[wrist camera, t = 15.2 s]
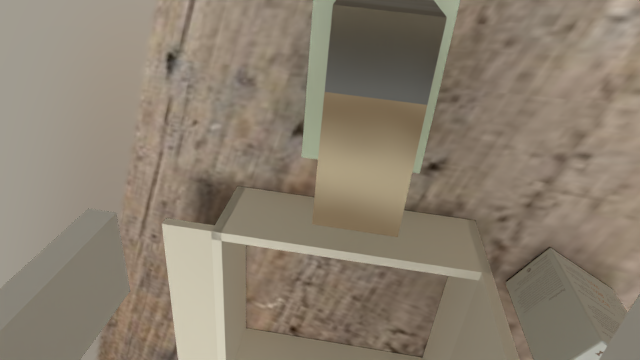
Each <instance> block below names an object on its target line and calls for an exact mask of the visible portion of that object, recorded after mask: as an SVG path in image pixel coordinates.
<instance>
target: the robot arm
mask: <svg viewBox="0 0 640 360" xmlns="http://www.w3.org/2000/svg"><path fill="white" fill-rule="evenodd" d="M129 292H130V287H129V281H128V275H127V270H126V264H125V258H124V253H123V247H122V242H121V236H120V230H119V225H118V219H117V214H116V213H115V212H109V211H102V210H95V209H87V210H86V211H85V212H84V213H83V214H82V215H81V216H79V218H77V219H76V220H75V221H74V222H73V223H72V224H71V225H70V226H69V227H67V228H66V229H65V230H64V231H63V232H62V233H61V234H60V235H59V236H57V237H56V238H55V239H54V240H53V241H52V242H51V243H50V244H49V245H47V246H46V247H45V248H44V249H43V250H42V251H41V252H40V253H39V254H38V255H37V256H35V257H34V258H33V259H32V260H31V261H30V262H29V263H28V264H27V265H25V266H24V267H23V268H22V269H21V270H20V271H19V272H18V273H17V274H16V275H14V276H13V277H12V278H11V279H10V280H9V281H8V282H7V283H6V284H5V285H4V286H2V287H1V288H0V360H81V358H82V356H83V355H84V354H85V353H86V351H87V350H88V348H89V347H90V346H91V344H92V343H93V341H94V340H95V339H96V337H97V336H98V335H99V333H100V332H101V330H102V329H103V328H104V326H105V325H106V324H107V322H108V321H109V319H110V318H111V317H112V315H113V314H114V313H115V311H116V310H117V308H118V307H119V306H120V304H121V303H122V301H123V300H124V299H125V297H126V296H127V295H128V293H129ZM599 360H640V294H639V296H638V298H637V299H636V301H635V302H634V304H633V306H632V307H631V309H630V310H629V312H628V314H627V315H626V317H625V318H624V320H623V322H622V323H621V325H620V326H619V328H618V330H617V331H616V333H615V334H614V336H613V338H612V339H611V341H610V343H609V344H608V346H607V347H606V349H605V351H604V352H603V354H602V355H601V357H600V359H599Z"/></svg>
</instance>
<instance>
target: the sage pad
mask: <svg viewBox="0 0 640 360" xmlns="http://www.w3.org/2000/svg"><path fill="white" fill-rule="evenodd" d="M335 1H336V0H313V9H312V22H311V36H310V50H309V63H308V77H307V90H306V104H305V118H304V131H303V145H302V157H304V158H311V159H318V155H319V144H320V134H321V123H322V113H323V102H324V92H325V81H326V71H327V60H328V50H329V39H330V29H331V18H332V8H333V4H334V2H335ZM434 1H435V2H436V4H437V5H438V6H439V8H440V9H441V10H442V12H443V13H444V14H445V16H446V17H447V20H446V24H445V29H444V33H443V38H442V42H441V47H440V51H439V56H438V60H437V64H436V69H435V73H434V78H433V82H432V87H431V91H430V96H429V100H428V105H427V109H426V114H425V118H424V122H423V127H422V131H421V136H420V140H419V145H418V149H417V154H416V158H415V163H414V167H413V172H412V173H420V170H421V166H422V162H423V157H424V153H425V149H426V145H427V140H428V136H429V132H430V127H431V123H432V119H433V115H434V110H435V106H436V102H437V98H438V93H439V89H440V85H441V81H442V76H443V72H444V68H445V63H446V59H447V55H448V51H449V46H450V42H451V38H452V34H453V29H454V25H455V21H456V17H457V12H458V8H459V4H460V0H434Z"/></svg>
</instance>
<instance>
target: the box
mask: <svg viewBox="0 0 640 360" xmlns="http://www.w3.org/2000/svg"><path fill="white" fill-rule="evenodd" d="M446 20H447V17H446V16H445V14H444V13H443V12H442V10H441V9H440V8H439V6H438V5H437V4H436V2H435V1H434V0H336V1H335V2H334V4H333V8H332V18H331V29H330V39H329V50H328V60H327V71H326V81H325V92H324V102H323V113H322V123H321V134H320V144H319V155H318V165H317V175H316V186H315V196H314V207H313V217H312V224H313V225H319V226H326V227H333V228H339V229H346V230H353V231H360V232H366V233H373V234H380V235H386V236H393V237H398V234H399V230H400V225H401V221H402V216H403V212H404V207H405V203H406V198H407V194H408V189H409V185H410V181H411V176H412V172H413V167H414V163H415V158H416V154H417V149H418V145H419V140H420V136H421V131H422V127H423V122H424V118H425V114H426V109H427V105H428V100H429V96H430V91H431V87H432V82H433V78H434V73H435V69H436V64H437V60H438V56H439V51H440V47H441V42H442V38H443V33H444V29H445V24H446Z"/></svg>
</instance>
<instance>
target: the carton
mask: <svg viewBox="0 0 640 360" xmlns="http://www.w3.org/2000/svg"><path fill="white" fill-rule="evenodd" d="M313 207H314V197H309V196H302V195H295V194H288V193H281V192H274V191H267V190H261V189H254V188H247V187H240V186H237V188H236V190H235V192H234V193H233V195H232V197H231V198H230V200H229V202H228V203H227V205H226V207H225V209H224V210H223V212H222V214H221V215H220V217H219V219H218V221H217V222H216V224H215V225H209V224H202V223H196V222H189V221H183V220H176V219H169V218H166V219H165V220H164V222H163V223H162V229H163V238H164V246H165V254H166V262H167V271H168V279H169V287H170V295H171V304H172V312H173V320H174V328H175V336H176V345H177V353H178V360H520V359H519V356H518V353H517V350H516V346H515V343H514V340H513V337H512V334H511V331H510V328H509V325H508V321H507V318H506V315H505V312H504V309H503V306H502V303H501V299H500V296H499V293H498V290H497V287H496V284H495V281H494V277H493V274H492V271H491V268H490V265H489V262H488V259H487V256H486V252H485V249H484V246H483V243H482V240H481V237H480V234H479V230H478V227H477V224H476V221H475V220H468V219H461V218H454V217H447V216H441V215H434V214H427V213H420V212H413V211H406V210H404V212H403V216H402V221H401V225H400V230H399V234H398V237H393V236H386V235H380V234H373V233H366V232H360V231H353V230H346V229H339V228H333V227H326V226H319V225H313V224H312V217H313ZM246 245H251V246H258V247H264V248H271V249H277V250H284V251H290V252H297V253H303V254H310V255H316V256H323V257H329V258H336V259H342V260H349V261H355V262H362V263H368V264H375V265H381V266H388V267H394V268H401V269H407V270H414V271H420V272H427V273H433V274H440V275H446V276H448V278H447V281H446V285H445V288H444V291H443V294H442V297H441V300H440V304H439V307H438V310H437V313H436V316H435V319H434V323H433V326H432V329H431V332H430V335H429V338H428V341H427V345H426V348H425V351H424V354H423V357H416V356H410V355H404V354H398V353H392V352H386V351H380V350H374V349H368V348H362V347H357V346H351V345H345V344H339V343H333V342H327V341H321V340H315V339H309V338H303V337H297V336H291V335H285V334H279V333H273V332H267V331H261V330H255V329H249V328H246Z"/></svg>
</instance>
